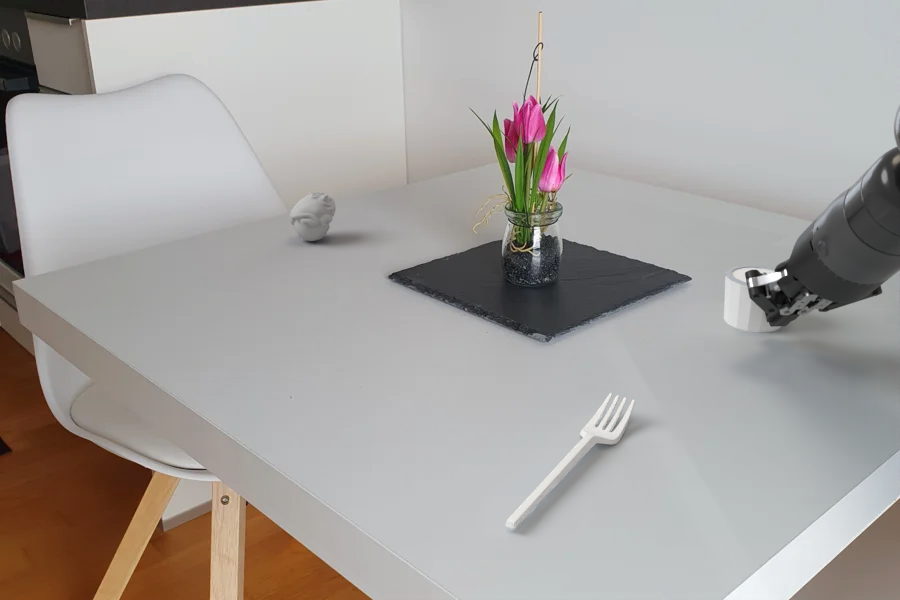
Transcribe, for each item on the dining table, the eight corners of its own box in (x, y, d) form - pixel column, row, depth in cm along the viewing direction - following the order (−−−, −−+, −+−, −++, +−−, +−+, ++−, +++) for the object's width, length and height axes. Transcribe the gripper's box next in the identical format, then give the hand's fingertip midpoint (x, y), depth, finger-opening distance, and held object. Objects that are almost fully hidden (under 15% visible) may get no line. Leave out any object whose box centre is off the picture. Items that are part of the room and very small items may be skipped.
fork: (489, 524, 61) (490, 502, 60) (604, 409, 76) (605, 391, 75) (529, 540, 59) (530, 518, 58) (638, 419, 74) (640, 400, 74)
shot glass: (761, 356, 86) (771, 292, 83) (704, 334, 91) (712, 274, 88) (796, 338, 90) (806, 277, 87) (740, 318, 95) (748, 260, 92)
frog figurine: (346, 238, 121) (344, 191, 119) (307, 250, 117) (304, 201, 114) (320, 230, 125) (317, 184, 123) (281, 240, 120) (278, 193, 118)
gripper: (925, 199, 70) (829, 282, 86) (772, 202, 70) (704, 285, 86) (949, 281, 68) (846, 351, 84) (790, 284, 67) (716, 354, 83)
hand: (774, 317), depth 85 cm, fingers closed
